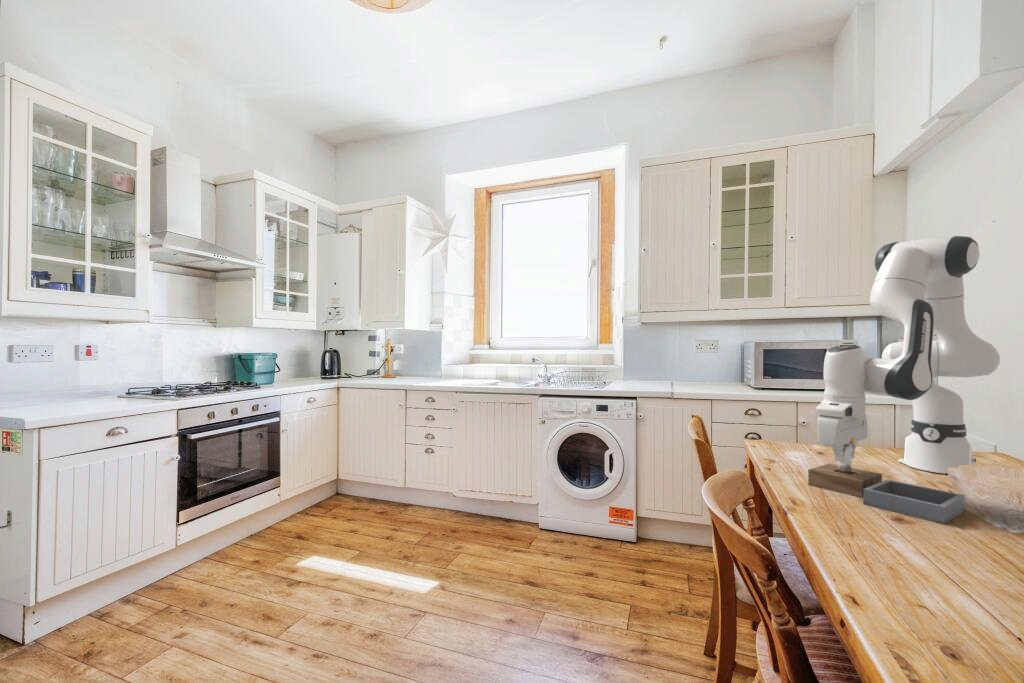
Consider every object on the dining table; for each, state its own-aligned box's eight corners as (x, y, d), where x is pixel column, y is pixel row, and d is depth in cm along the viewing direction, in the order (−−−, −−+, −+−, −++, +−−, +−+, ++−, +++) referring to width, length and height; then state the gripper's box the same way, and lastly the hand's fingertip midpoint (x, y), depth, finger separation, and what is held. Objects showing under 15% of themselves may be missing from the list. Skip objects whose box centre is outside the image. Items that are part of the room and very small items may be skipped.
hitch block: (829, 477, 125) (829, 463, 125) (882, 489, 115) (882, 473, 115) (808, 484, 119) (808, 469, 119) (862, 497, 109) (862, 481, 109)
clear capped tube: (838, 483, 120) (838, 434, 120) (858, 487, 116) (857, 437, 116) (831, 486, 118) (830, 436, 118) (850, 490, 114) (850, 439, 114)
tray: (887, 493, 112) (887, 479, 112) (964, 510, 100) (964, 495, 100) (863, 503, 104) (863, 488, 104) (944, 524, 92) (944, 507, 92)
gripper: (847, 403, 125) (848, 452, 125) (812, 408, 114) (812, 462, 114) (875, 405, 120) (875, 457, 120) (840, 411, 109) (841, 468, 109)
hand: (844, 459), depth 117 cm, fingers closed on clear capped tube, 4 cm apart
